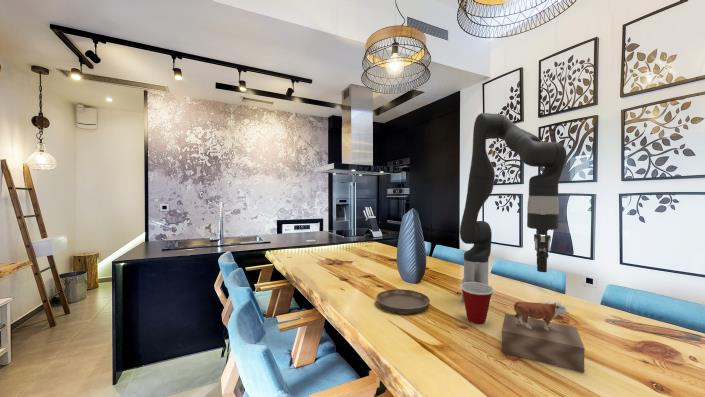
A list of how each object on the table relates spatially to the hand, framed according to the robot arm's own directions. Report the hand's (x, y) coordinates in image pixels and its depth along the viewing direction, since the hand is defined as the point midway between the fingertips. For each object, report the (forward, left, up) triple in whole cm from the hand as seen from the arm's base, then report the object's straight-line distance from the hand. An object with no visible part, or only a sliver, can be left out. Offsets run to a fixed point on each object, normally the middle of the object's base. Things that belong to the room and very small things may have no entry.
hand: (541, 268), depth 83 cm
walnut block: (0, -2, -23) cm, 23 cm away
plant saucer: (-45, +9, -23) cm, 52 cm away
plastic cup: (-18, +9, -23) cm, 30 cm away
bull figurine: (0, -2, -17) cm, 17 cm away
